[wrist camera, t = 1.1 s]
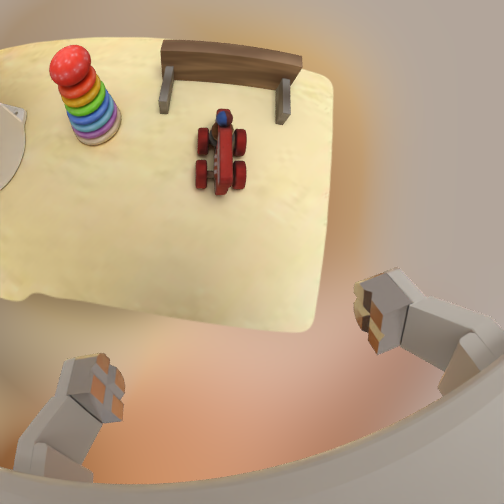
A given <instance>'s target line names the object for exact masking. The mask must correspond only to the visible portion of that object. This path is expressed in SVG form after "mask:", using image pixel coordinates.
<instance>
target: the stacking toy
mask: <svg viewBox="0 0 504 504" xmlns="http://www.w3.org/2000/svg"><path fill="white" fill-rule="evenodd" d="M90 65H91V58H90V55H89V53H88V51H87V50H86V49H85V48H84V47H82V46H79V45H70V46H67V47H64V48H63V49H61V50H60V51H58V52H57V53H56V54H55V56H54V57H53V59H52V61H51V63H50V68H49V72H50V76H51V78H52V80H53V81H54V82H55V83H56V84H58V89H59V92H60V94H61V97H62V100H63V102H64V103H65V108H66V110H67V115H68V117H69V119H70V123H71V125H72V128H73V130H74V132H75V135H76V137H77V138H78V140H80V141H81V142H82V143H84V144H87V145H97V144H101V143H103V142H105V141H107V140H109V139H110V138H111V137H112V136H113V135H114V134H115V133H116V132H117V130H118V128H119V126H120V122H121V113H120V110H119V108H118V107H117V105H116V104H115V102H114V100H113V99H112V97H111V95H110V94H109V93H108V91H107V90H106V88H105V86H104V84H103V82H102V81H101V80H100V78H99V77H98V75H97V74H96V72H95V69H94V68H93V67H92V66H90Z"/></svg>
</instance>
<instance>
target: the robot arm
mask: <svg viewBox="0 0 504 504" xmlns="http://www.w3.org/2000/svg"><path fill="white" fill-rule="evenodd" d="M17 113H18V114H17ZM16 114H17V115H16ZM26 117H27V112H26V110H24V109H22V108H18V107H15V106H11V105H7V104H3V103H0V190H1V189H2V188H3V187H4V186H5V185H6V184H7V183H8V182H9V181H10V180H11V178H12V177H13V175H14V174H15V172H16V170H17V169H18V167H19V164H20V162H21V159H22V156H23V153H24V148H25V130H24V125H25V121H26ZM354 294H355V295H356V297H357V299H356V300H355V302H354V314H355V317H356V320H357V323H358V325H359V326H360V328H361V330H362V331H365V332H367V333H368V341H369V343H370V345H371V346H372V348H373V349H374V351H375V353H376V354H377V355H379V354H381V353H384V352H386V351H389V350H391V349H393V348H396V347H398V346H400V345H401V346H400V347H402V348H403V349H405V350H407V351H409V352H411V353H412V354H414V355H416V356H418V357H419V358H421V359H423V360H425V361H426V362H428V363H430V364H432V365H434V366H435V367H437V368H439V369H441V370H442V371H444V374H443V376H442V378H441V380H440V382H439V385H438V389H439V391H440V393H441V394H442V396H443V397H441V398H440V399H438V400H437V401H434V402H433V403H431V404H429V405H428V406H426V407H424V408H422V409H420V410H419V411H417V412H415V413H413V414H411V415H409V416H407V417H405V418H403V419H402V420H399V421H397V422H395V423H393V424H391V425H389V426H387V427H385V428H383V429H380V430H378V431H376V432H374V433H372V434H369V435H367V436H365V437H362V438H360V439H358V440H355V441H353V442H350V443H347V444H345V445H342V446H339V447H337V448H334V449H331V450H328V451H325V452H323V453H319V454H316V455H313V456H311V457H307V458H304V459H301V460H297V461H294V462H290V463H286V464H283V465H279V466H275V467H271V468H267V469H262V470H258V471H253V472H249V473H243V474H238V475H233V476H227V477H220V478H214V479H206V480H198V481H190V482H178V483H163V484H101V483H93V473H92V472H91V471H90V470H89V469H87V468H85V467H83V466H81V465H82V462H83V461H84V458H85V457H86V455H87V453H88V451H89V449H90V447H91V445H92V444H93V442H94V440H95V438H96V436H97V434H98V432H99V430H100V428H101V427H102V423H111V422H120V421H122V420H123V406H124V404H123V403H122V402H121V400H120V399H121V398H122V397H123V395H124V393H125V383H124V378H123V376H122V374H121V372H120V371H119V370H118V369H117V368H116V367H114V366H112V365H110V359H109V358H108V357H107V356H106V355H105V354H104V353H97V354H92V355H85V356H80V357H74V358H67V359H66V360H65V361H64V364H63V367H62V371H61V374H60V378H59V382H58V385H57V390H56V393H55V397H51V398H50V400H49V401H48V402H47V403H46V405H45V406H44V407H43V408H42V410H41V411H40V412H39V413H38V415H37V416H36V417H35V419H34V420H33V421H32V422H31V424H30V425H29V426H28V428H27V429H26V430H25V432H24V433H23V434H22V436H21V437H20V438H19V441H18V445H17V451H16V456H15V463H14V468H13V470H10V469H6V468H2V467H0V504H504V330H503V329H502V328H501V327H500V326H499V325H498V323H497V322H496V321H495V320H494V319H493V318H492V317H490V316H488V315H484V314H482V313H479V312H476V311H473V310H471V309H468V308H465V307H462V306H459V305H456V304H454V303H451V302H448V301H445V300H442V299H439V298H436V297H433V296H428V297H426V296H425V295H424V293H422V291H421V290H420V289H419V288H418V287H417V286H416V285H415V284H414V283H413V282H412V281H411V280H410V278H409V277H408V276H407V275H406V274H405V273H404V272H403V271H402V270H401V269H400V268H398V267H395V268H393V269H390V270H388V271H385V272H383V273H380V274H378V275H375V276H372V277H370V278H367V279H364V280H361V281H358V282H356V283H355V285H354Z"/></svg>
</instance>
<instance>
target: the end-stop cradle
mask: <svg viewBox="0 0 504 504" xmlns="http://www.w3.org/2000/svg"><path fill="white" fill-rule="evenodd" d="M161 65H162V77H163V82H162V87H161V92H160V97H159V107H160V114H168V111H169V105H170V99H171V93H172V88H173V82H174V80H185V81H202V82H215V83H225V84H234V85H243V86H250V87H258V88H264V89H271V90H276V124H280V125H283V124H284V122H285V121H286V120H287V118H288V117H289V116H290V114H291V107H290V86H291V84H292V83H293V81H294V80H295V78H296V77H297V75H298V73H299V72H300V70H301V69H302V56H299V55H294V54H290V53H285V52H280V51H274V50H269V49H263V48H257V47H250V46H244V45H236V44H227V43H218V42H204V41H190V40H163V43H162V47H161Z"/></svg>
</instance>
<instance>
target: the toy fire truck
mask: <svg viewBox="0 0 504 504" xmlns="http://www.w3.org/2000/svg"><path fill="white" fill-rule="evenodd" d="M232 121H233V116H232V114H231V112H230V110H229V109H218V110H217V114H216V120H215V124H214V125H213V126H212V129H211V131H210V133H209V129H208V128H199V130H198V151H197V153H198V154H199V155H206V154H208V145H212V146H214V147H215V155H214V171H207V161H206V160H197V161H196V188H206V187H207V178H215V194H216V195H225V194H226V193H227V191H228V188H229V187H231V185H232V186H233V188H234V189H243V188H244V187H245V183H246V164H245V162H244V161H234V162H233V154H234V155H235V156H243V155H244V154H245V150H246V142H247V137H246V131H245V130H244V129H236V130H235V131H234V129H233V126H232V124H231V123H232ZM232 151H233V154H232Z"/></svg>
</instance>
